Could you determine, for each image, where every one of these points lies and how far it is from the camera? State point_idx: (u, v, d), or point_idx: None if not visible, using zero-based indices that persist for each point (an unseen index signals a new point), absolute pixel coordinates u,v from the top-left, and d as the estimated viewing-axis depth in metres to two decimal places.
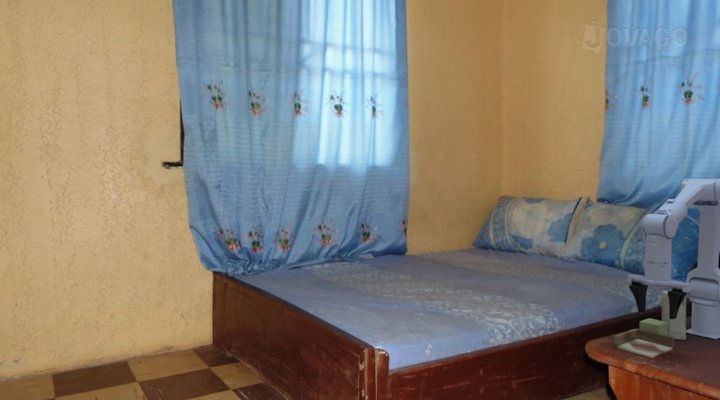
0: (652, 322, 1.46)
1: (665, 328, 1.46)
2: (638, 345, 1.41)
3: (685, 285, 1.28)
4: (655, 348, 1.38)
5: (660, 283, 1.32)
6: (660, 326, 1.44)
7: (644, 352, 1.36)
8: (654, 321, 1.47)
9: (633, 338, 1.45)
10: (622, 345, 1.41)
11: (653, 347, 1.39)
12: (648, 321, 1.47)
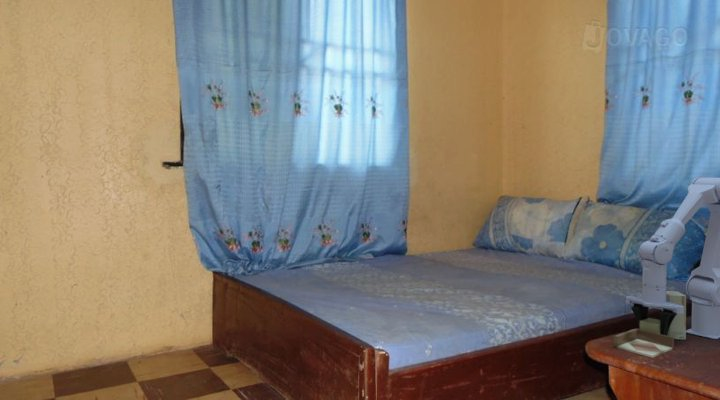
0: (652, 321, 1.46)
1: None
2: (638, 345, 1.41)
3: (679, 307, 1.40)
4: (655, 348, 1.38)
5: (656, 305, 1.44)
6: (660, 325, 1.44)
7: (644, 352, 1.36)
8: (654, 321, 1.47)
9: (633, 338, 1.45)
10: (622, 345, 1.41)
11: (653, 347, 1.39)
12: (648, 321, 1.47)
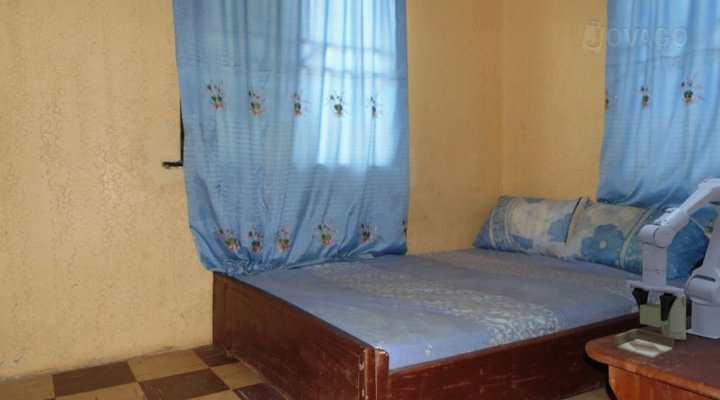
0: (653, 306, 1.46)
1: None
2: (638, 345, 1.41)
3: (679, 290, 1.40)
4: (655, 348, 1.38)
5: (656, 289, 1.43)
6: None
7: (644, 352, 1.36)
8: (654, 305, 1.47)
9: (633, 338, 1.45)
10: (622, 345, 1.41)
11: (653, 347, 1.39)
12: (648, 305, 1.47)
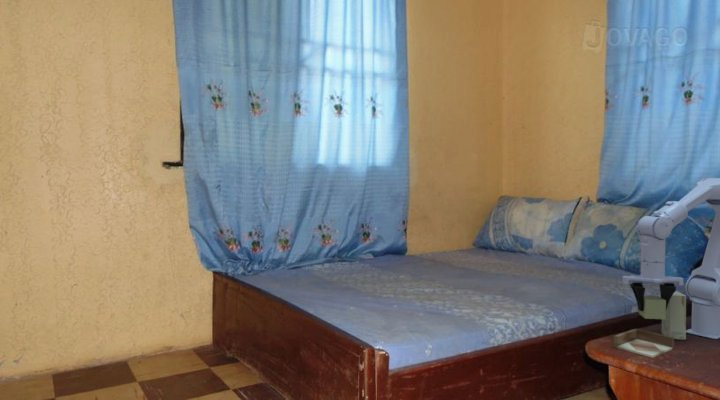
0: (653, 298, 1.44)
1: None
2: (638, 345, 1.41)
3: (682, 279, 1.42)
4: (655, 348, 1.38)
5: (663, 280, 1.42)
6: None
7: (644, 352, 1.36)
8: (651, 297, 1.45)
9: (633, 338, 1.45)
10: (622, 345, 1.41)
11: (653, 347, 1.39)
12: (649, 298, 1.44)
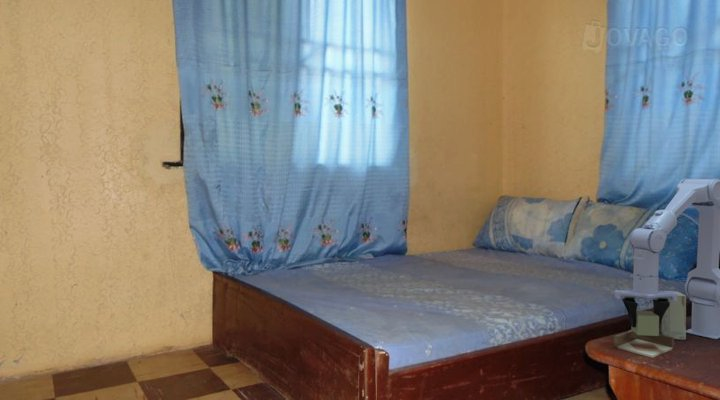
0: (646, 314, 1.39)
1: None
2: (638, 345, 1.41)
3: (676, 294, 1.37)
4: (655, 348, 1.38)
5: (657, 295, 1.36)
6: None
7: (644, 352, 1.36)
8: (644, 313, 1.40)
9: (633, 338, 1.45)
10: (622, 345, 1.41)
11: (653, 347, 1.39)
12: (641, 314, 1.39)
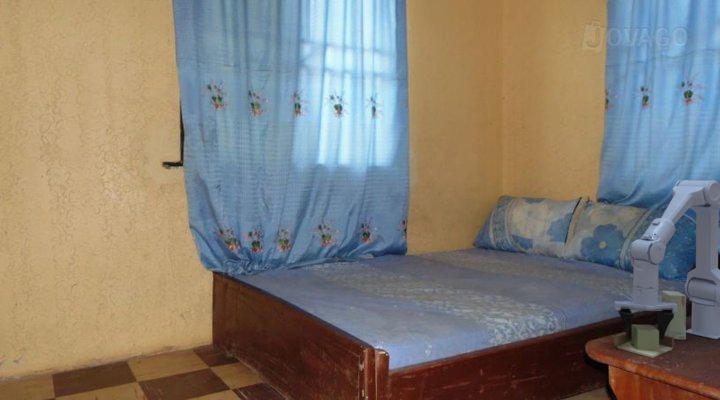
0: (646, 328, 1.39)
1: None
2: None
3: (676, 305, 1.37)
4: None
5: (656, 307, 1.36)
6: None
7: (644, 352, 1.36)
8: (644, 327, 1.40)
9: None
10: (622, 345, 1.41)
11: None
12: (641, 328, 1.39)
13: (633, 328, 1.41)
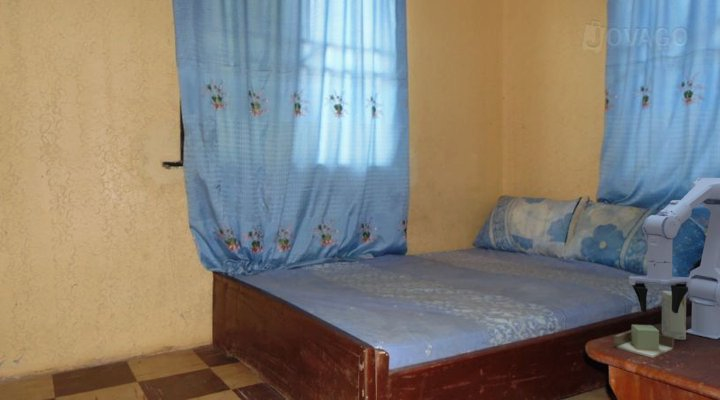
0: (646, 328, 1.39)
1: None
2: None
3: (689, 279, 1.39)
4: None
5: (671, 281, 1.38)
6: None
7: (644, 352, 1.36)
8: (644, 327, 1.40)
9: None
10: (622, 345, 1.41)
11: None
12: (641, 328, 1.39)
13: (633, 328, 1.41)
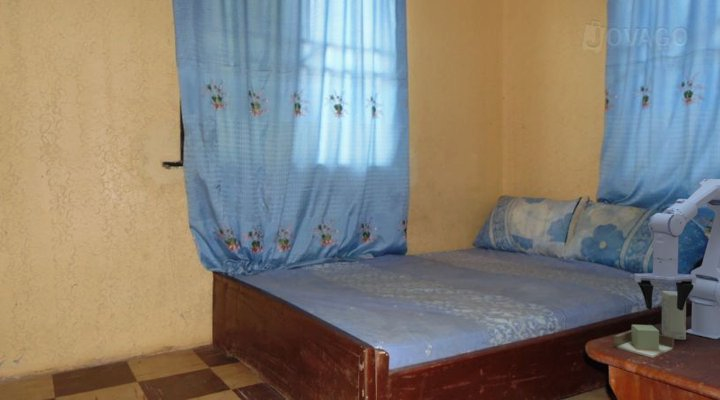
0: (646, 328, 1.39)
1: None
2: None
3: (695, 277, 1.40)
4: None
5: (676, 278, 1.40)
6: None
7: (644, 352, 1.36)
8: (644, 327, 1.40)
9: None
10: (622, 345, 1.41)
11: None
12: (641, 328, 1.39)
13: (633, 328, 1.41)
